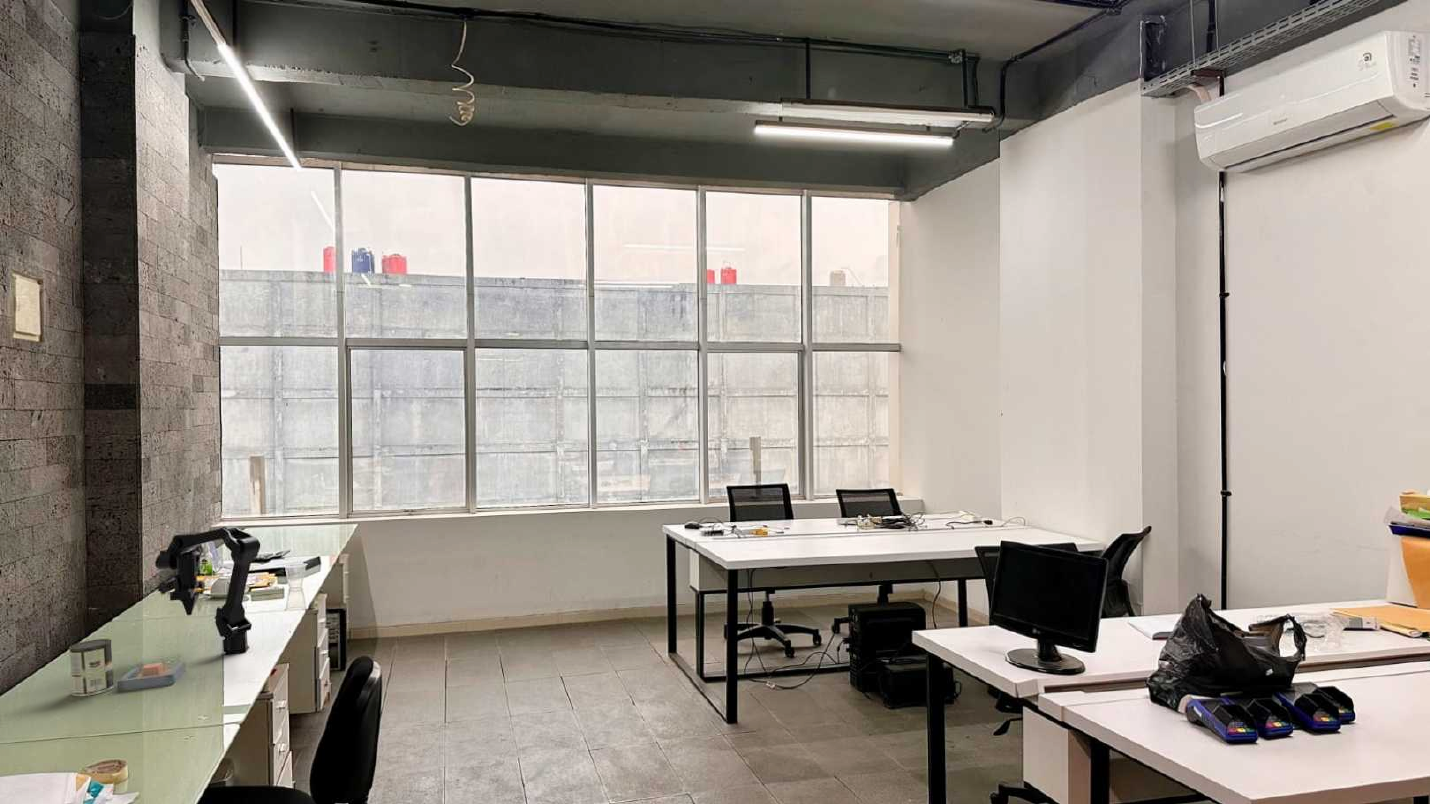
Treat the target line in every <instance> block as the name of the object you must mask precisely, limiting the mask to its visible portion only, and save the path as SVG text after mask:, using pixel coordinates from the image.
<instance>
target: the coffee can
mask: <svg viewBox="0 0 1430 804" xmlns="http://www.w3.org/2000/svg"><path fill="white" fill-rule="evenodd" d="M68 651H69V656H70V657H69V659H70V660H69V662H70V671H71V685H72V686H71V688H72V696H74V697H88V696H93V695H98V694H102V693H105V692H107V691H110V690H113V689H114V687H115V682H114V670H113V669H114V667H113V654H112V639H110V638H97V639H92V640H87V641H81V642H78V643H75V644H73V645H70V646H68Z"/></svg>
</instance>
